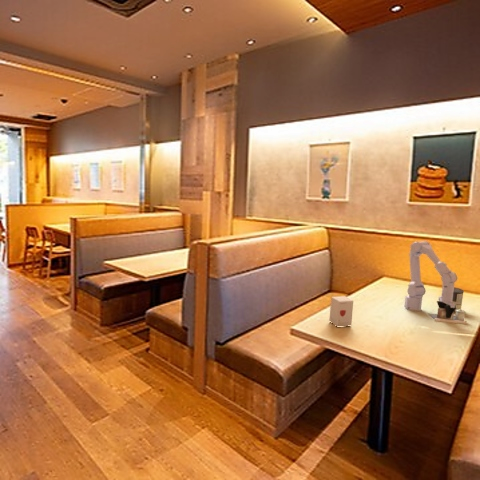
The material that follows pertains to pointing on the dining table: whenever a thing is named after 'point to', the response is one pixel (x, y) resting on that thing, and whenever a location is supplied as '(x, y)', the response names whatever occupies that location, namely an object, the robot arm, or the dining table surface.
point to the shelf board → (446, 319)
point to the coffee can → (457, 298)
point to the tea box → (443, 314)
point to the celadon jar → (460, 315)
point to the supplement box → (341, 311)
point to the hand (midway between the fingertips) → (444, 315)
